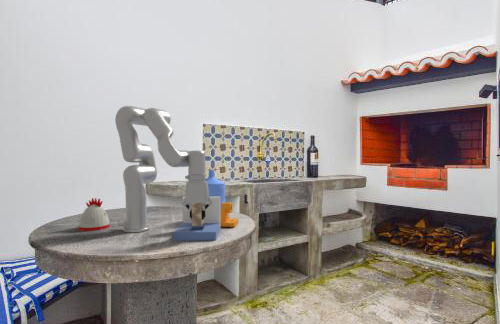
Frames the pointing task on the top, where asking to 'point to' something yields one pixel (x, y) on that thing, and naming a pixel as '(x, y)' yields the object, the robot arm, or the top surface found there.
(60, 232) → the top surface
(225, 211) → the bracket
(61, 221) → the top surface
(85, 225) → the cream red beanie hat
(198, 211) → the tan wooden pillar
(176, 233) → the blue base grey panel
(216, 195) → the water jug
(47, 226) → the top surface
